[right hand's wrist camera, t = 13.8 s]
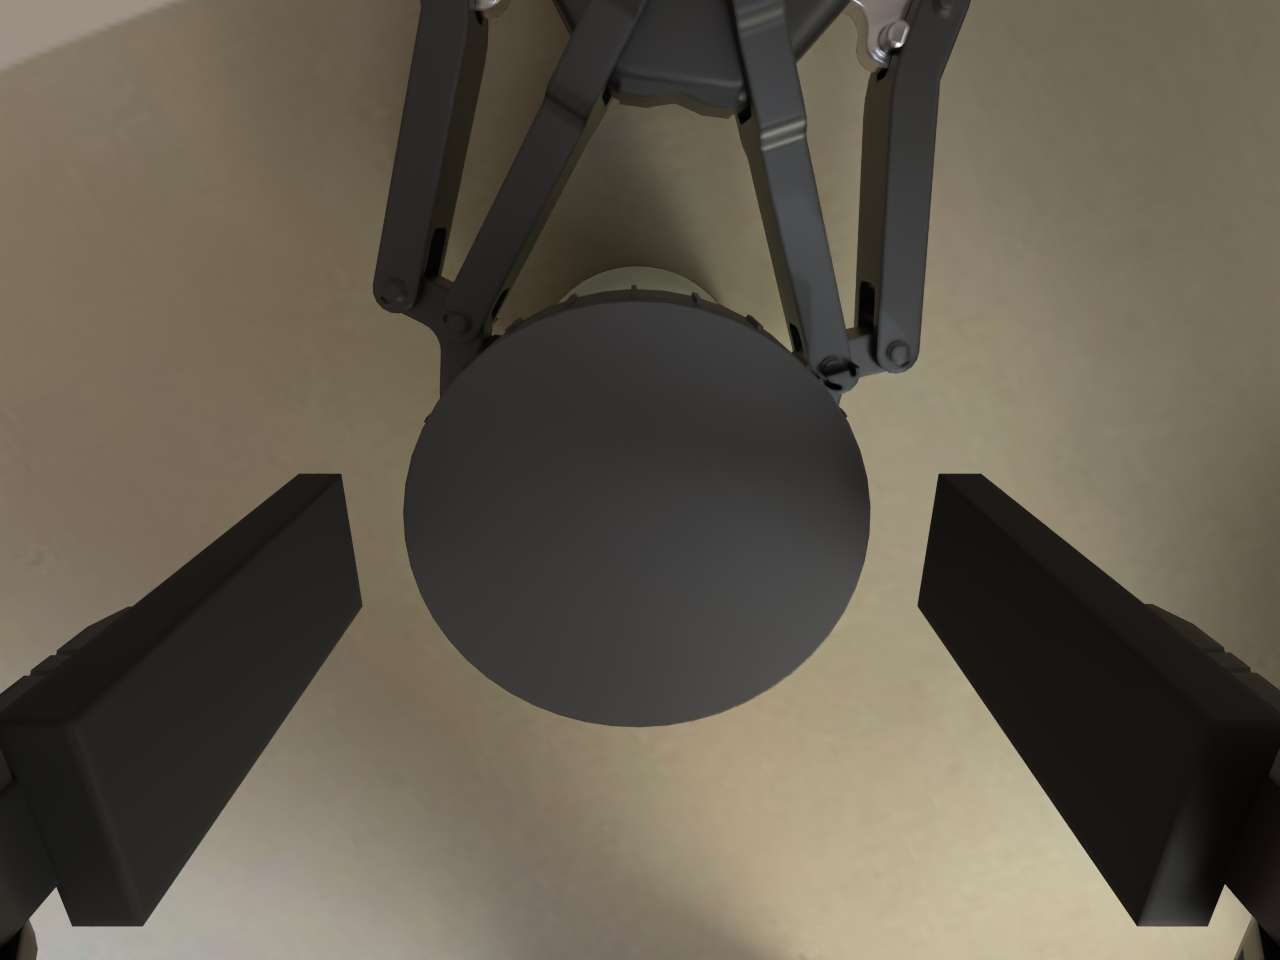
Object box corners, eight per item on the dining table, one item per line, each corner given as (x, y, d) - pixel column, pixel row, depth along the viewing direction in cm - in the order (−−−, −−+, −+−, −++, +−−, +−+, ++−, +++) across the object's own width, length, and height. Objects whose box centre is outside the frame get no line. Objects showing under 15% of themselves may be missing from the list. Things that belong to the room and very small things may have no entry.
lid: (934, 460, 16) (973, 493, 14) (674, 736, 18) (678, 795, 16) (588, 186, 14) (580, 182, 12) (351, 539, 16) (315, 580, 14)
